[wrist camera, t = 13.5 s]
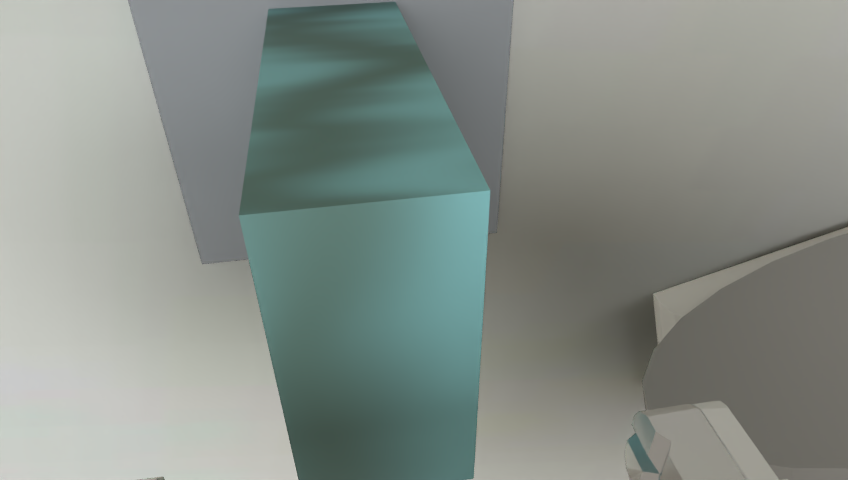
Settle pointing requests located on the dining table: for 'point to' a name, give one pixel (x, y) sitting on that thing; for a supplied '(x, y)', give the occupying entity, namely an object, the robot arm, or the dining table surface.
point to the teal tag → (365, 247)
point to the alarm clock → (765, 353)
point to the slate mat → (238, 78)
